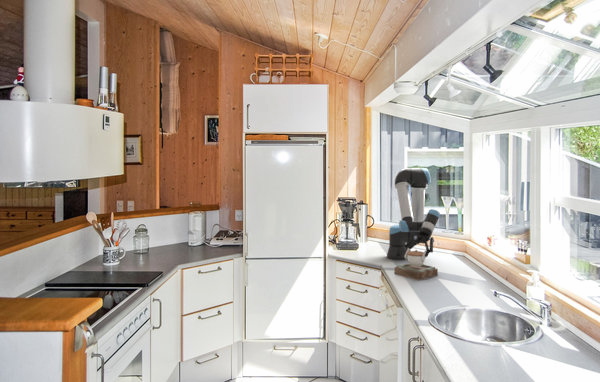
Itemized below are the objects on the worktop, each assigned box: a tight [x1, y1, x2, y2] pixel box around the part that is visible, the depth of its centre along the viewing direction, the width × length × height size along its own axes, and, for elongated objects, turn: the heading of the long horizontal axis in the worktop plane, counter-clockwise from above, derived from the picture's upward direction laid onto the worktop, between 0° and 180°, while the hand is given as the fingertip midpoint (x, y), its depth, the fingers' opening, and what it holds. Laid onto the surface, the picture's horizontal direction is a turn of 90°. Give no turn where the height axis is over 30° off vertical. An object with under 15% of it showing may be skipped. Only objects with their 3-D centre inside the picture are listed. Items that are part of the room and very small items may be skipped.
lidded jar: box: [406, 249, 426, 266], centre depth 260 cm, size 11×11×9 cm
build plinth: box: [394, 262, 439, 281], centre depth 261 cm, size 18×18×5 cm
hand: (413, 259), depth 258 cm, fingers closed on lidded jar, 11 cm apart
